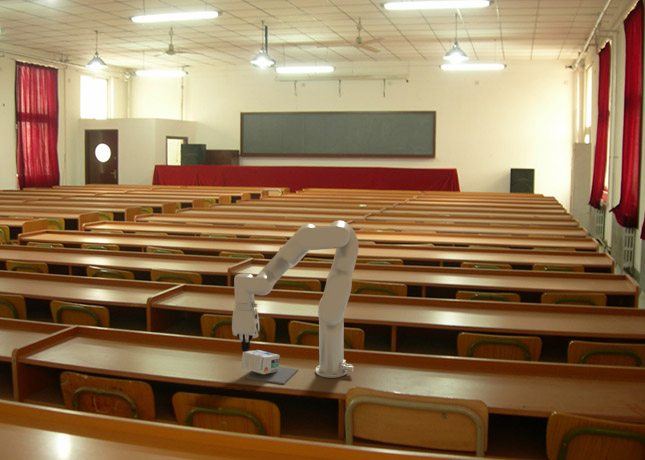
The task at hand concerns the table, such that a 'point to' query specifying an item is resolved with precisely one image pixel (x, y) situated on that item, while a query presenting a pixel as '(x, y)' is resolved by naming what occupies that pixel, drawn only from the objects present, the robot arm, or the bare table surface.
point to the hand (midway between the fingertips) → (245, 350)
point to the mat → (274, 375)
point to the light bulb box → (260, 361)
